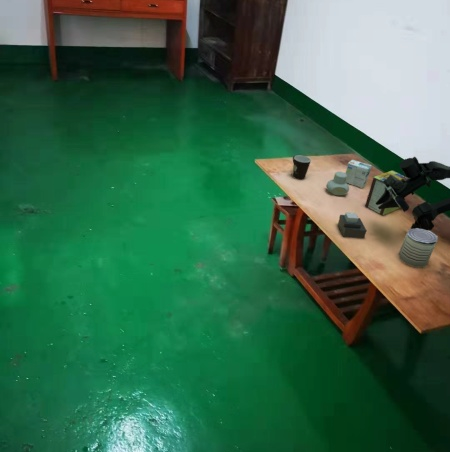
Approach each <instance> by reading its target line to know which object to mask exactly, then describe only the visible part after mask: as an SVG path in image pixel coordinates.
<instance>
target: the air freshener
mask: <svg viewBox="0 0 450 452" xmlns="http://www.w3.org/2000/svg"><path fill="white" fill-rule="evenodd" d="M345 173H346V172H342V171H336V172H335V173H334V176H333V178H332V179H330V180H329V181H327V183H326V189H327V191H328V192H329V193H330V194H332V195H335V196H344V195H346V194H347V193H348V192H349V190H350V186H349V183H346V178H347V175H346V174H345Z"/></svg>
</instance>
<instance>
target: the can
mask: <svg viewBox="0 0 450 452" xmlns="http://www.w3.org/2000/svg"><path fill="white" fill-rule="evenodd" d="M438 237H439V236H438V235H436V234H435V233H434V232H433V231H431V230H429V231H428V230H424V229H419V228H415V229H411V228H409V229H407V231H406V233H405V236H404V239H403V241H402V244H401V246H400V250H399V252H398V259H399V260H400V261H401V262H402V263H404V264H405V265H407V266H409V267H412V268H424V267H426V266H427V265H428V263H429V260H430V259H431V256H432V254H433V252H434V249H435V247H436V245H437V243H438V239H439V238H438Z"/></svg>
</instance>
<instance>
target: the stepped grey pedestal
mask: <svg viewBox="0 0 450 452" xmlns="http://www.w3.org/2000/svg"><path fill="white" fill-rule="evenodd" d="M344 216H345V214H339V219H338V222H337V226H338V228H339V231H340V233H341V235H342V237H343V238H350V239H351V238H354V239H365V237H366V234H367V229H366V227H365V225H364V223H363V221H362V218H360V217H358V221H357V223H349V222H346V220H345V218H344Z"/></svg>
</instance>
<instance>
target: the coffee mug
mask: <svg viewBox="0 0 450 452" xmlns="http://www.w3.org/2000/svg"><path fill="white" fill-rule="evenodd" d="M292 162H293V166H292V167H293V168H292V178H294V179H296V180H304V179H306V176H307V173H308V170H309V167H310V164H311V162H312V159H311V158H310V157H308V156H306V155H299V154H298V155H293V156H292Z"/></svg>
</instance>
